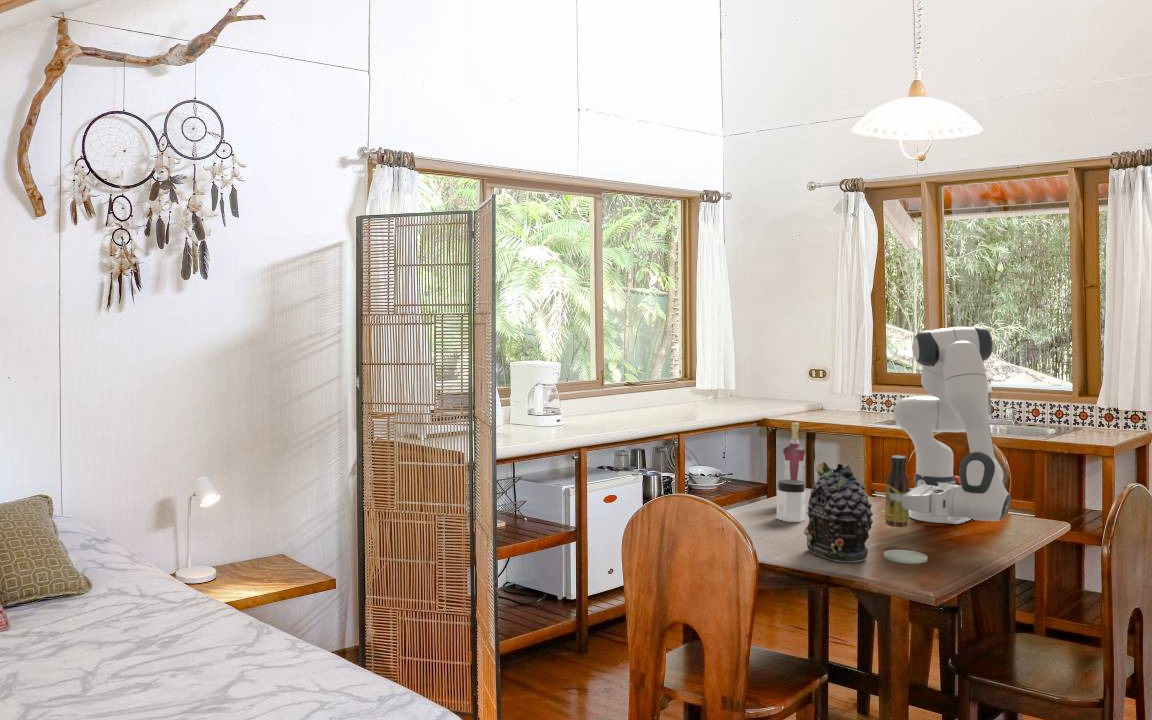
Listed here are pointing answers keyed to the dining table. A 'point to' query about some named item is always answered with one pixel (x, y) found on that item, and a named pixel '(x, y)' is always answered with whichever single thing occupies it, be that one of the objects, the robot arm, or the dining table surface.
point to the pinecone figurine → (838, 515)
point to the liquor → (794, 457)
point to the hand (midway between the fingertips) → (894, 493)
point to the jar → (791, 500)
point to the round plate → (905, 556)
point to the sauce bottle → (899, 485)
